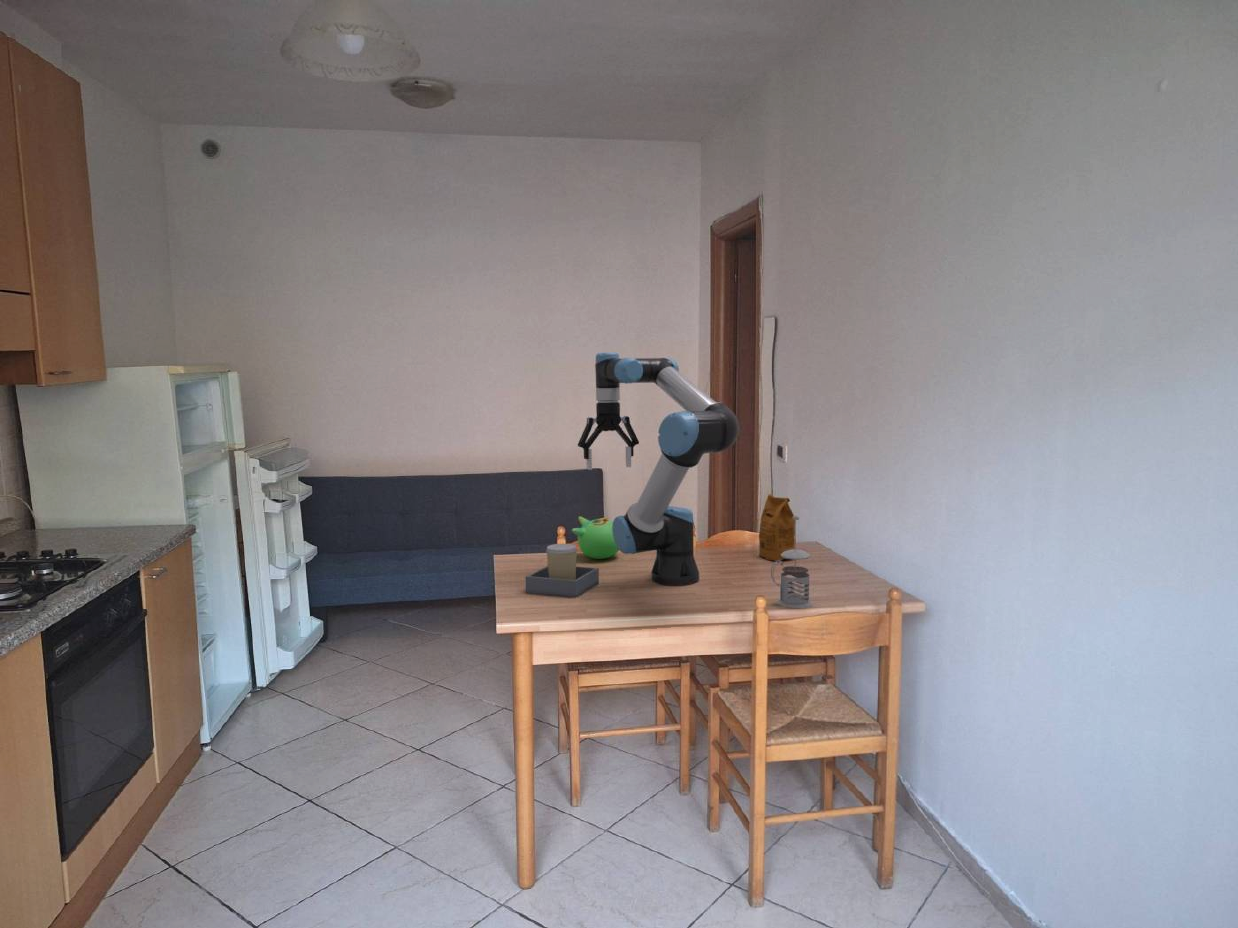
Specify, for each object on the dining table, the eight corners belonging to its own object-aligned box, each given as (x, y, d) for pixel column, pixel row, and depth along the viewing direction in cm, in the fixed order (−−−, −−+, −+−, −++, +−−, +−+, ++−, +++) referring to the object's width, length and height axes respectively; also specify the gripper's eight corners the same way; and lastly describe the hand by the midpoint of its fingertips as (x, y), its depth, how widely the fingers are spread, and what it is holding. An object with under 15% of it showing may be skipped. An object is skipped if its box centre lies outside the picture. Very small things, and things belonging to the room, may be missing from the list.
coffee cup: (573, 580, 252) (572, 542, 250) (581, 587, 243) (580, 548, 241) (544, 583, 249) (542, 544, 247) (551, 590, 240) (550, 550, 239)
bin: (598, 583, 250) (598, 568, 250) (576, 597, 235) (575, 581, 235) (551, 579, 257) (550, 564, 256) (525, 592, 241) (525, 576, 241)
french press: (817, 607, 222) (818, 517, 220) (776, 608, 222) (776, 519, 219) (806, 597, 232) (807, 511, 229) (766, 598, 231) (767, 512, 229)
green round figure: (620, 563, 276) (620, 521, 275) (572, 563, 278) (571, 521, 276) (624, 552, 294) (623, 512, 293) (578, 552, 295) (577, 512, 294)
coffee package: (778, 552, 290) (778, 492, 287) (798, 560, 278) (799, 497, 276) (754, 555, 286) (754, 494, 284) (773, 562, 275) (774, 499, 272)
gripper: (638, 400, 265) (639, 464, 267) (567, 402, 255) (568, 469, 257) (648, 401, 258) (649, 466, 260) (575, 403, 248) (576, 471, 251)
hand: (609, 468), depth 259 cm, fingers open, 13 cm apart
